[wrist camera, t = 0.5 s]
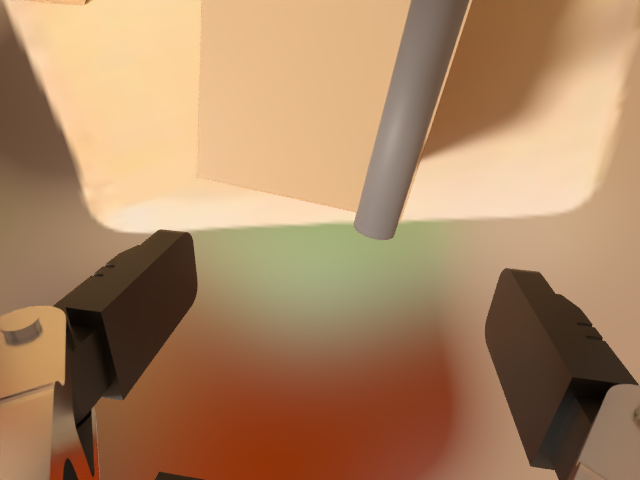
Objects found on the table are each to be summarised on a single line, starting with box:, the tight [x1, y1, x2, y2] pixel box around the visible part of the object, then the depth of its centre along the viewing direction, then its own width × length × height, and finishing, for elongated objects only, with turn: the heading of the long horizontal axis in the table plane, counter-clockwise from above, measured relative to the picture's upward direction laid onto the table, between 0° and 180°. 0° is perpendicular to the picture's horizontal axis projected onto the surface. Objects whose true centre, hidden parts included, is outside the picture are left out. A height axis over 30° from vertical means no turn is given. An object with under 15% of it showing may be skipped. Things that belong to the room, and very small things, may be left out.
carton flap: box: [197, 0, 472, 240], centre depth 19 cm, size 16×14×9 cm
